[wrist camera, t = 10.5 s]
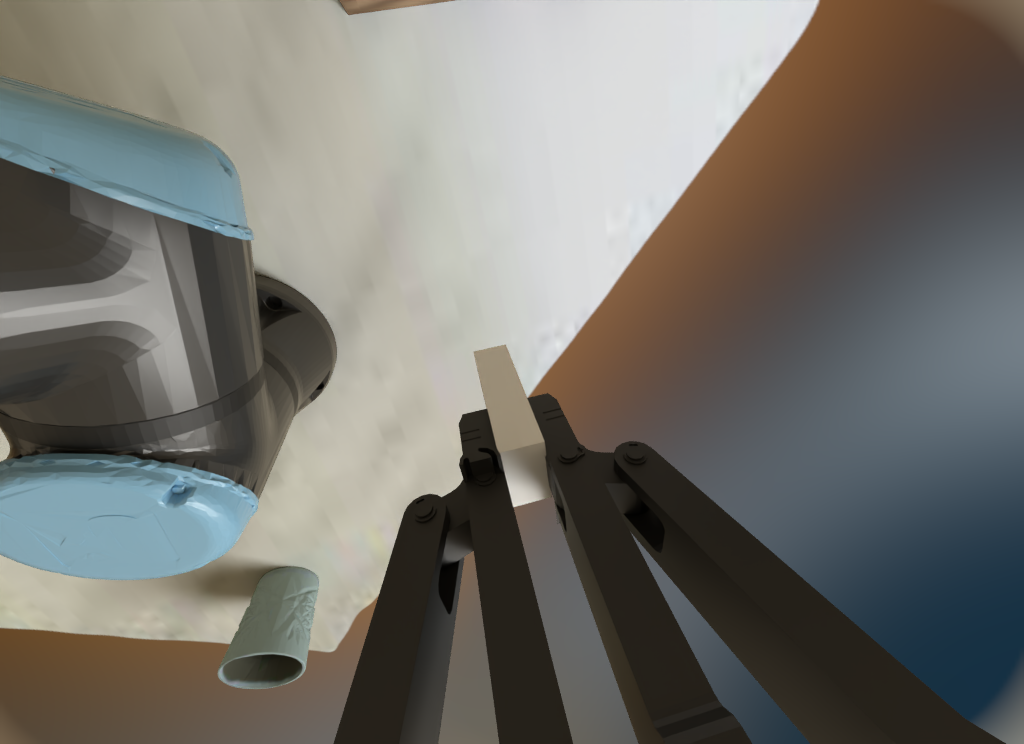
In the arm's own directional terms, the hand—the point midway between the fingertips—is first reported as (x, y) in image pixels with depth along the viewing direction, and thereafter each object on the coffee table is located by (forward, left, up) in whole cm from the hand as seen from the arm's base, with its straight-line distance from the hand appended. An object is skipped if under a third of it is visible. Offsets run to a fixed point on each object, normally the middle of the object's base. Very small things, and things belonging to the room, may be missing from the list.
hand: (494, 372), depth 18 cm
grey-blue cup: (-37, -46, -25) cm, 64 cm away
